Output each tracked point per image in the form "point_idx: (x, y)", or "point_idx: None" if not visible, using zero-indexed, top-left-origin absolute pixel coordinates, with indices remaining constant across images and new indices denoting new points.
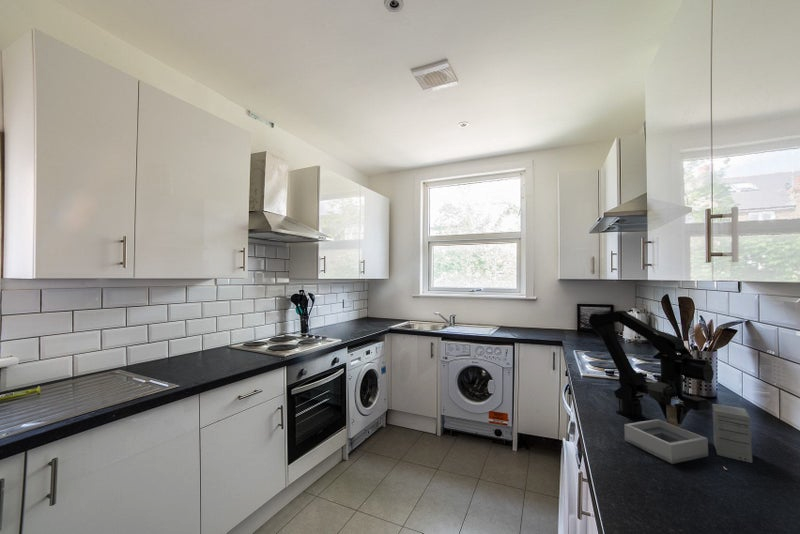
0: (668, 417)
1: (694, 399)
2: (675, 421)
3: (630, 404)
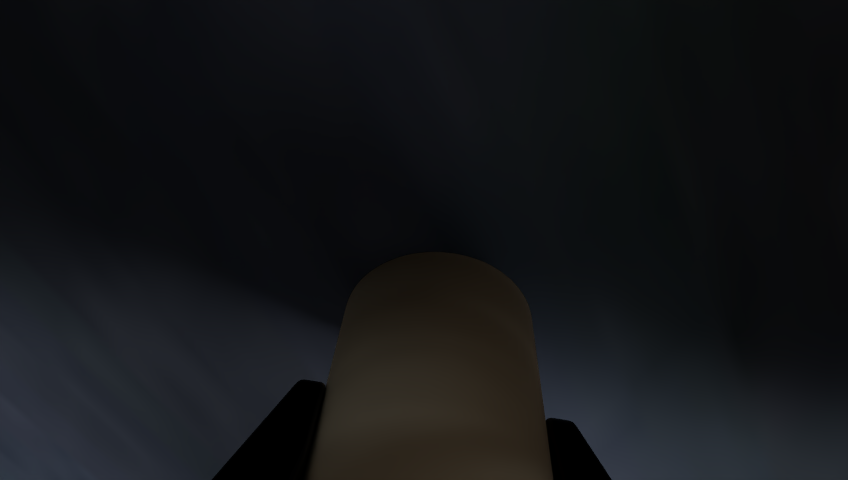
0: (473, 428)
1: None
2: (340, 396)
3: None
